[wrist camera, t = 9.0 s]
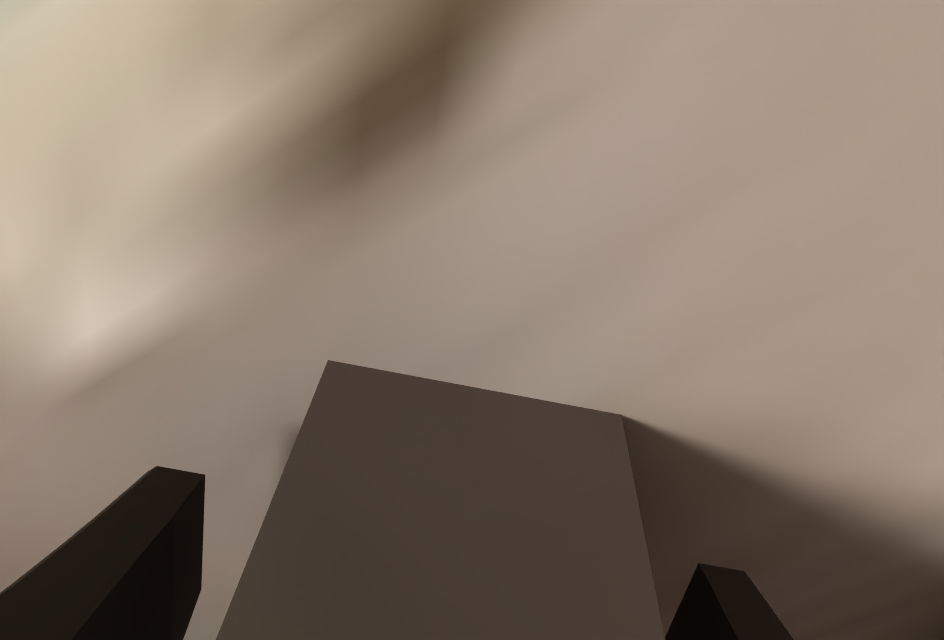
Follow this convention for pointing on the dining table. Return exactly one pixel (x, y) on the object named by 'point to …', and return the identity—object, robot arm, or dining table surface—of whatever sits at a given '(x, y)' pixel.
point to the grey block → (448, 521)
